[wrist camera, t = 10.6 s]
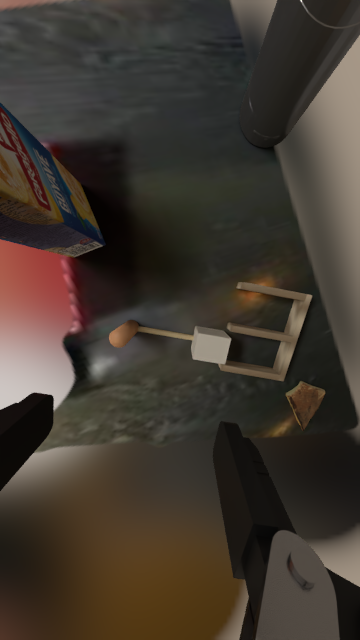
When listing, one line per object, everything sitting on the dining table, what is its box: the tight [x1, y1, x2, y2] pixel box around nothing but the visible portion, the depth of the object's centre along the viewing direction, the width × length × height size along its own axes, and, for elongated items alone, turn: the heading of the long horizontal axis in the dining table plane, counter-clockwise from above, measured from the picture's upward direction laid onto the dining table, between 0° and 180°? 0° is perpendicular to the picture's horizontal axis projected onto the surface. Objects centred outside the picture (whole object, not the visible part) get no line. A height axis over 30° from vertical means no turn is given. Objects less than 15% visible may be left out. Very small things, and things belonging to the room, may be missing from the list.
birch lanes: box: [218, 282, 312, 381], centre depth 35 cm, size 18×13×3 cm
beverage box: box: [0, 103, 106, 258], centre depth 21 cm, size 7×11×22 cm, turn 20°
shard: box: [286, 381, 325, 431], centre depth 39 cm, size 11×8×2 cm
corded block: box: [109, 320, 231, 364], centre depth 32 cm, size 5×20×8 cm, turn 80°
